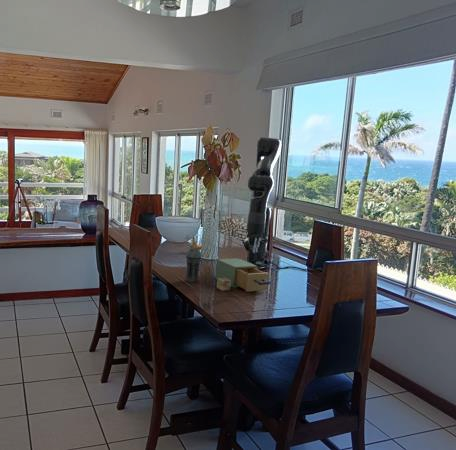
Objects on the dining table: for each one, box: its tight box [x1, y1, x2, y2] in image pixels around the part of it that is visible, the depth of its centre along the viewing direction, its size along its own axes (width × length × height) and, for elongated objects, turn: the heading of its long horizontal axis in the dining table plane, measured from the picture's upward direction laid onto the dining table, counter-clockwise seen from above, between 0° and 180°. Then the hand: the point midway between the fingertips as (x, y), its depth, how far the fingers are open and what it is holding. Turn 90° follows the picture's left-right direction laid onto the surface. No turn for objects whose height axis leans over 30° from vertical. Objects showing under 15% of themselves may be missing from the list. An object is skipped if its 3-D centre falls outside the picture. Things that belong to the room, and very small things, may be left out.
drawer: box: [235, 268, 271, 293], centre depth 205 cm, size 18×11×8 cm, turn 26°
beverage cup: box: [185, 238, 203, 283], centre depth 212 cm, size 7×7×20 cm
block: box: [216, 278, 232, 291], centre depth 204 cm, size 4×4×4 cm
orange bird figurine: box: [184, 234, 203, 251], centre depth 273 cm, size 7×18×11 cm, turn 84°
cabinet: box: [214, 257, 257, 288], centre depth 216 cm, size 15×13×10 cm
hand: (251, 260), depth 200 cm, fingers closed
